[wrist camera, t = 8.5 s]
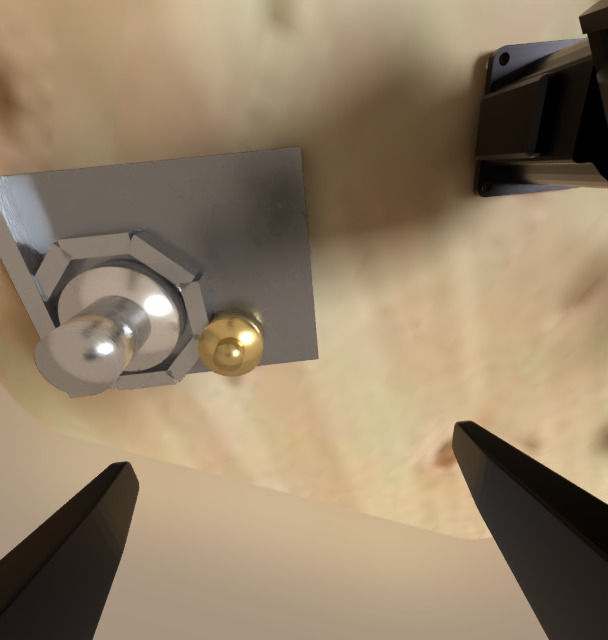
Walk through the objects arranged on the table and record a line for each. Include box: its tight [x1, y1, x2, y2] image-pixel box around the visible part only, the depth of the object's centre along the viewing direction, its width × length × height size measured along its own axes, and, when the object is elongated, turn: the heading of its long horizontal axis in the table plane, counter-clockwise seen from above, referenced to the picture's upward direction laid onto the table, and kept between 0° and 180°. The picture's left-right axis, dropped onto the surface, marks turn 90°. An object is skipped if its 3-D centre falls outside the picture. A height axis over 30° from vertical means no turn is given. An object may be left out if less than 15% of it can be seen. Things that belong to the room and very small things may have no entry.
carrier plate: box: [0, 147, 319, 398], centre depth 17 cm, size 15×12×4 cm
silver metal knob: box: [34, 261, 185, 396], centre depth 16 cm, size 6×6×6 cm
